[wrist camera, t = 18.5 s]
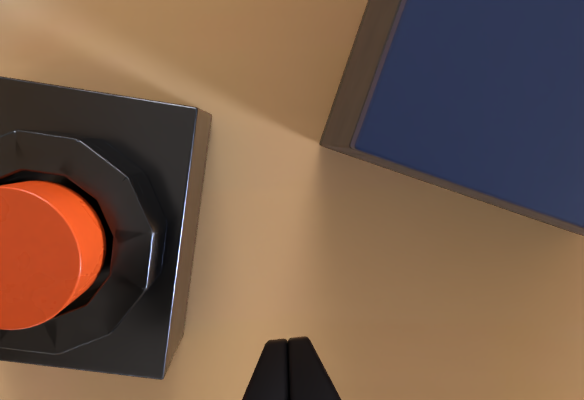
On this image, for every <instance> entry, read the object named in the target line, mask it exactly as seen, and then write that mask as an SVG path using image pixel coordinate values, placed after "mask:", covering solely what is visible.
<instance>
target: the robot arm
mask: <svg viewBox="0 0 584 400" xmlns="http://www.w3.org/2000/svg"><path fill="white" fill-rule="evenodd" d="M242 400H341V398H340V396H339V395H338V393H337V391H336V389H335V387H334V385H333V383H332V381H331V379H330V377H329V376H328V374H327V372H326V370H325V368H324V366H323V364H322V362H321V360H320V358H319V356H318V355H317V353H316V351H315V349H314V347H313V345H312V343H311V341H310V340H309V338H308V337H296V338H290V339H289V340H288V341H287V340H286V339H277V340H269V341H268V342H267V343H266V344H265V346H264V349H263V351H262V353H261V356H260V358H259V361H258V363H257V365H256V368H255V370H254V373H253V375H252V377H251V380H250V382H249V385H248V387H247V389H246V392H245V394H244V397H243V399H242Z"/></svg>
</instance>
